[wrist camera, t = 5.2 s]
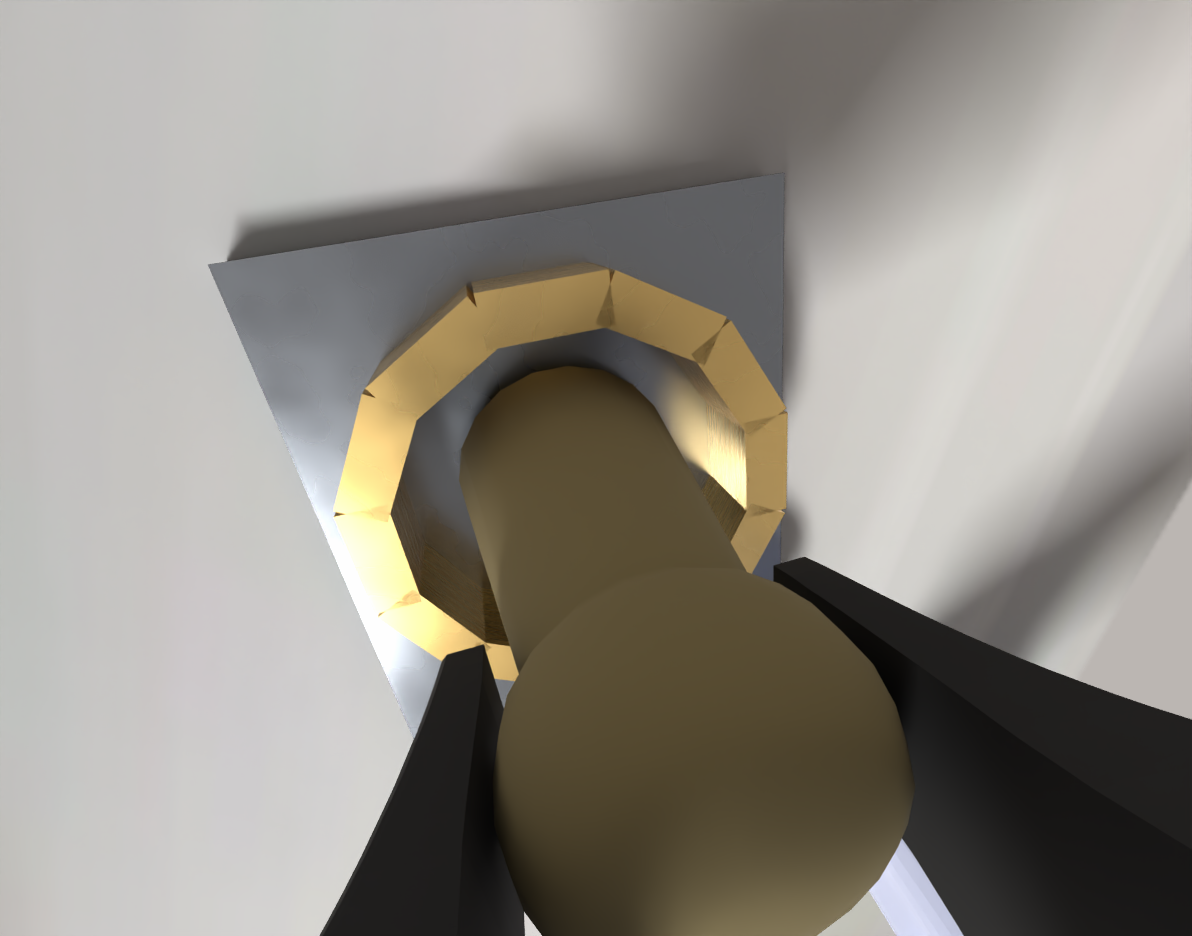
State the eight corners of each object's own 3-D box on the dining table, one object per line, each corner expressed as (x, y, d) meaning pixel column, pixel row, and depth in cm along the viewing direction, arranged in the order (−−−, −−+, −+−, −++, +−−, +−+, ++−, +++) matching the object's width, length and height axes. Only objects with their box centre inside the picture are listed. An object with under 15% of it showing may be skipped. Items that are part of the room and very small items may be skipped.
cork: (593, 317, 14) (924, 564, 4) (705, 479, 16) (1062, 859, 7) (409, 461, 14) (297, 1000, 4) (548, 595, 17) (669, 1106, 7)
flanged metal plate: (766, 655, 23) (815, 724, 20) (432, 755, 21) (427, 849, 18) (765, 175, 15) (845, 162, 12) (225, 261, 13) (150, 273, 10)
